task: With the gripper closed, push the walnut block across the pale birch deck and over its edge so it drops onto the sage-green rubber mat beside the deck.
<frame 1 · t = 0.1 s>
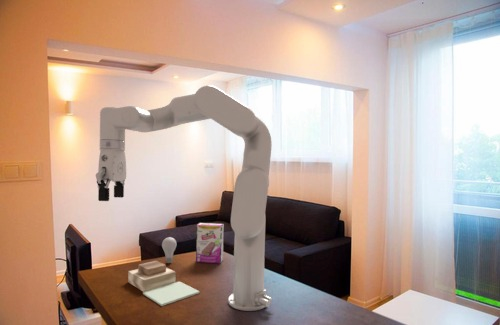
hand: (111, 199, 104), 31 cm above the table, tool pointing down, fingers open, 9 cm apart
birch deck: (151, 282, 116), on the table
sage mat: (171, 293, 106), on the table
walnut block: (152, 268, 115), point 5 cm above the table, touching birch deck
lightbulb: (169, 263, 137), on the table
candy bar box: (209, 262, 140), on the table
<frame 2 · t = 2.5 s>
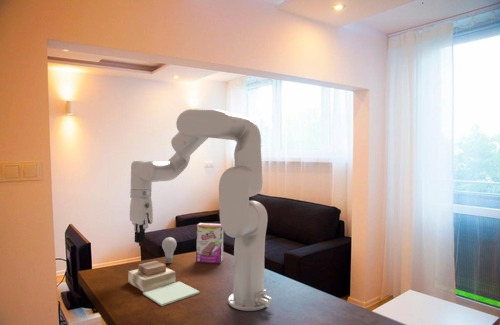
hand: (139, 241, 122), 13 cm above the table, tool pointing down, fingers closed
nothing on the table moved.
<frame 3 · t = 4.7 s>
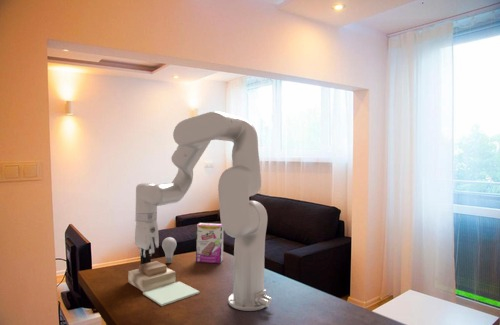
hand: (145, 266, 119), 5 cm above the table, tool pointing down, fingers closed
walnut block: (152, 268, 115), point 5 cm above the table
everything else where it was.
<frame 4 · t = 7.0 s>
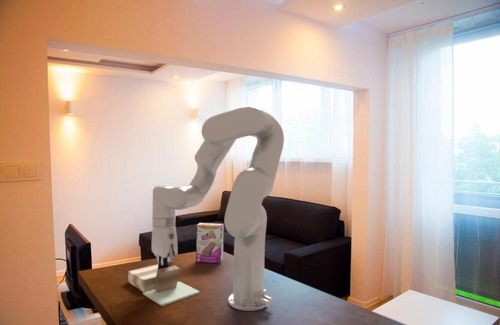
hand: (163, 275, 110), 5 cm above the table, tool pointing down, fingers closed
walnut block: (167, 278, 108), point 4 cm above the table, tilted 103°, touching sage mat
everything else where it was.
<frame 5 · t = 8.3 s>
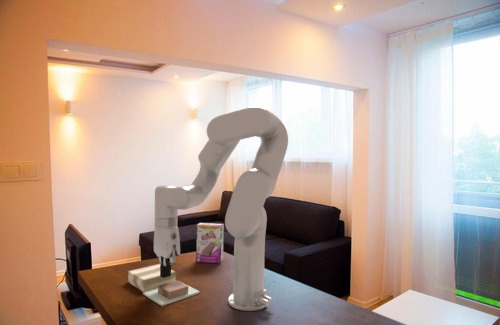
hand: (165, 276, 109), 5 cm above the table, tool pointing down, fingers closed
walnut block: (173, 289, 105), point 2 cm above the table, tilted 180°, touching sage mat
everything else where it was.
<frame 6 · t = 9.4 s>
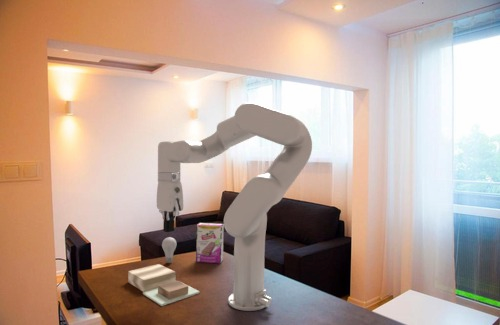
hand: (168, 231, 110), 20 cm above the table, tool pointing down, fingers closed
nothing on the table moved.
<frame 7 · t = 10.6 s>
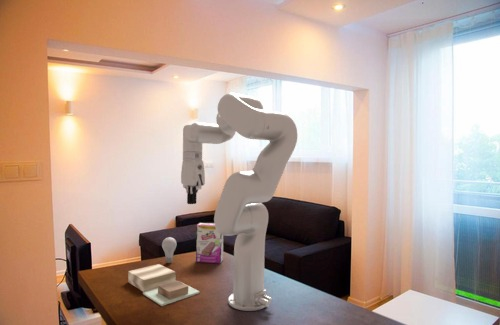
hand: (191, 203, 126), 27 cm above the table, tool pointing down, fingers closed
nothing on the table moved.
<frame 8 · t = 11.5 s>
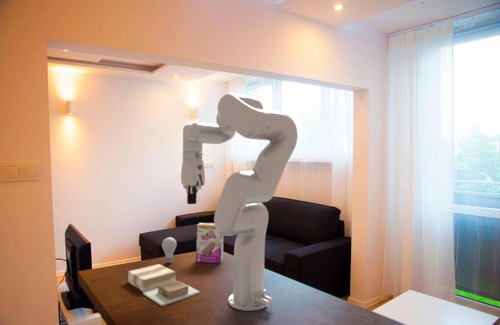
hand: (191, 203, 126), 27 cm above the table, tool pointing down, fingers closed
nothing on the table moved.
at the end: walnut block point 1.8 cm above the table; walnut block inside the target area (1.3 cm from its centre), point 1.8 cm above the table; walnut block touching sage mat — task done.
